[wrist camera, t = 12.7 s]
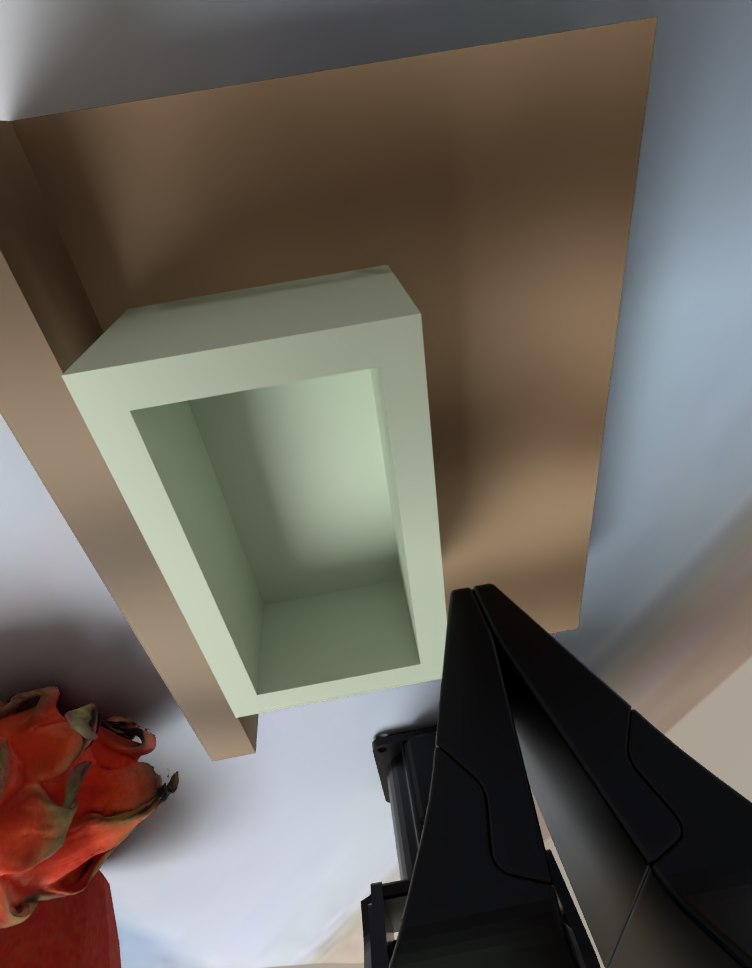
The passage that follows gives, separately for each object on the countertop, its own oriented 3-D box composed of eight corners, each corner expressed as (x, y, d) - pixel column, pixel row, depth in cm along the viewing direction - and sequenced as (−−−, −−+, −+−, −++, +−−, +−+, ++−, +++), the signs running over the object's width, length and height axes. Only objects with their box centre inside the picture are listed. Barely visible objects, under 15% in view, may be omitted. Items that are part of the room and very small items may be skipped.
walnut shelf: (547, 574, 23) (609, 684, 18) (230, 634, 22) (212, 761, 18) (586, 40, 13) (750, -15, 8) (5, 134, 12) (-169, 133, 8)
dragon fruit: (-102, 668, 23) (183, 649, 27) (-114, 864, 23) (177, 815, 27) (-254, 755, 15) (181, 710, 19) (-276, 1058, 15) (172, 946, 19)
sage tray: (423, 575, 18) (451, 676, 14) (248, 607, 17) (235, 717, 14) (387, 264, 12) (421, 313, 9) (128, 308, 12) (61, 375, 8)
